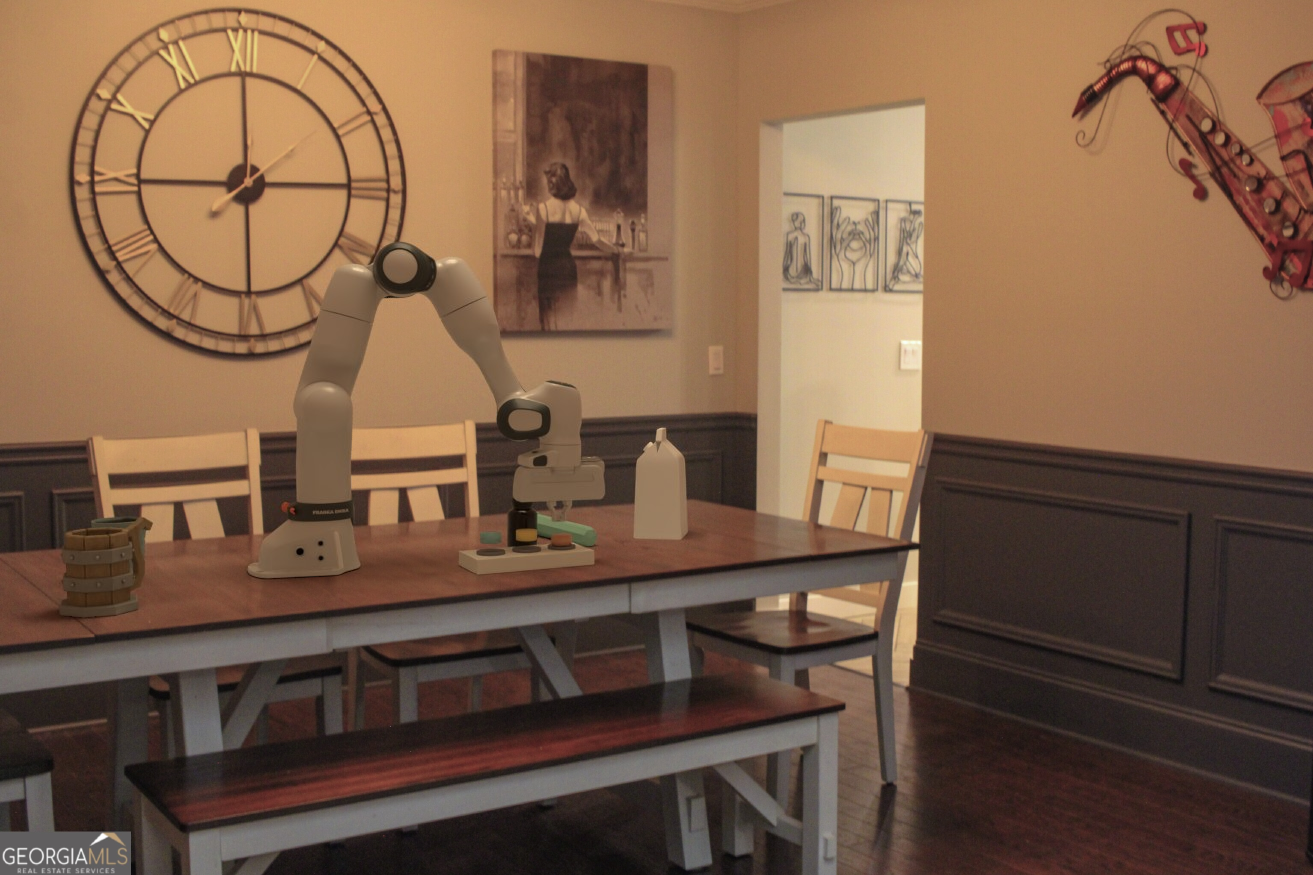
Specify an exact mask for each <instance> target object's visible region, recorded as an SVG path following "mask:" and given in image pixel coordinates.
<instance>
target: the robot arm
mask: <svg viewBox="0 0 1313 875" xmlns="http://www.w3.org/2000/svg"><path fill="white" fill-rule="evenodd" d="M416 294H418V295H423V296H424V297H426V298H427V299H428V300H429V301H430V303H431V304H432V305H433V307H434V309H435V311H436V313H437V315H438V317H439V319H440V322H441V323H442V325H443V327H444V329H445V330H446V333H447V334H448V335H449V336H450V338H451V339H452V341H453V342H454V344H456V346H457V347H458V348H459V349H461V350H462V351H463V352H464V353H465V354H466V355H468V356H469V358H471V359H472V360H473V362H474V363H475V364H476V365H477V367H478V368H479V370H480V372H481V374H482V375H483V377H484V380H485V381H486V383H487V386H488V387H489V390H490V391H491V393H492V395H493V397H494V400H495V404H496V419H495V421H496V425H497V429H498V431H500V433H501V434H502V435H503V437H505V438H507V439H508V440H510V441H514V442H524V441H528V440H532V439H539V448H536V449H533V450H531V451H528V452H525V453H524V452H523V453H521V454H519V455H518V456H517V464H518V465H520V466H518V467H517V468H516V469H515V472H514V476H513V484H512V497H514V498H515V500H517V501H519V502H533V503H534V502H537V503H539V502H546V507H547V508H548V511H549V512H550V514H551V515H550V517H551V520H552V522H564V521H568V513H569V512H570V510H571V508H572V506H573V501H583V500H584V501H585V500H586V501H588V500H592V501H593V500H602V499H603V498H604V496H605V495H606V484H605V478H604V477H605V476H604V473H605V462H604V460H603V459H602V458H600V457H599V456H582V441H581V436H580V435H581V434H580V432H581V427H582V424H583V420H582V418H583V417H582V413H583V410H582V398H581V397H582V396H581V393H580V391H579V390H578V388H577V387H576V386H574V385H573V384H571V383H567V382H562V381H558V380H545V381H544V382H543V383H541V384H540V385H538V386H537V387H535V388H532V389H531V390H529V391H526V390H525V389H524V387H523V386H522V385H521V383H520V382H519V380H518V378H517V376H516V374H515V372H514V370H513V368H512V366H511V364H510V362H509V360H508V358H507V356H506V354H505V351H504V346H503V344H502V339H501V338H502V337H501V332H500V331H501V330H500V327H499V326H500V325H499V323H498V319H497V316H496V313H495V310H494V307H493V305H492V302H491V301H490V298H489V296H488V294H487V292H486V290H485V289H484V287H483V285H482V283H481V281H480V280H479V278H478V276H476V274H475V272H474V271H473V270H472V268H471V267H470V266H469V264H468V263H467V262H466V261H465V260H464V259H463V258H461V257H459V256H445V257H442V258H440V259H437V260H435V259H434V258H433V257H432V256H430V255H429V254H427V253H426V252H425V251H423V250H421V249H420V248H419V247H418V246H416V245H414V244H411V243H410V242H409V243H408V242H405V241H395V242H394V241H393V242H390V243H389V244H386V245H384V246H383V247H382V248H381V249H380V250H379V251H378V252H377V254H376V256H375V258H374V261H373V262H372V263H370V264H368V265H363V264H358V263H347V264H342V265H340V266H338V267H337V268H336V270H334V273H333V275H332V277H331V278H330V280H329V283H328V285H327V288H326V290H325V293H324V296H323V298H322V301H321V304H320V308H319V309H320V310H319V311H318V316H317V320H316V323H315V327H314V331H313V333H312V339H311V342H310V344H309V349H308V352H307V354H306V357H305V362H304V364H303V368H302V371H301V375H300V378H299V381H298V383H297V388H296V391H295V394H294V397H293V398H294V399H293V403H292V407H293V413H294V416H295V418H296V449H295V450H296V451H295V452H296V455H295V456H296V458H295V480H296V483H295V486H296V500H295V501H293V502H292V503H290V502H287V501H285V502H283V503H282V504H281V507H280V509H281V510H282V512H284V513H286V519H287V520H285V522H282V524H281V525H279V526H278V527H277V528H276V529H275V530H273V531H272V532H270V534H268V535H267V536H266V537H264V539H263V540H262V542H261V545H260V546H259V548H260V549H259V552H258V562H252V563H250V564H249V565H248V566H247V573H248V574H249V575H251V576H253V577H256V578H261V579H274V578H276V579H277V578H278V579H279V578H280V579H282V578H295V577H296V578H298V577H319V576H321V577H323V576H337V575H341V574H343V573H346V572H349V571H354V570H356V569H359V568H360V567H361V565H362V564H361V563H360V559H359V556H358V551H357V547H356V541H355V536H354V534H355V533H354V525H355V504H354V499H352V451H353V450H352V448H353V446H352V445H353V421H354V420H353V418H354V417H353V414H354V412H353V411H354V407H353V402H352V399H351V397H352V394H353V390H354V388H355V385H356V381H357V379H358V375H359V373H360V370H361V367H362V365H363V362H364V359H365V355H366V352H367V347H368V345H369V341H370V337H371V332H372V329H373V324H374V322H375V318H376V314H377V310H378V307H379V305H380V304H381V302H382V300H383V299H406V298H410V297H412V296H413V297H414V295H415V296H416ZM558 501H559V502H561V501H562V505H563V508H561V512H557V510H556V508H555V507H556V506H557V502H558Z"/></svg>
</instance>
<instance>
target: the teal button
mask: <svg viewBox="0 0 1313 875" xmlns="http://www.w3.org/2000/svg"><path fill="white" fill-rule="evenodd" d="M479 543H480V544H483V545H496V544H501V543H502V531H497V530H496V531H495V530H489V531H486V530H485V531H481V532H480V533H479Z"/></svg>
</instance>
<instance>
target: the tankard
mask: <svg viewBox="0 0 1313 875" xmlns="http://www.w3.org/2000/svg"><path fill="white" fill-rule="evenodd" d="M138 517H139V518H138V519H137V520H136V521H135V522H134V523H133V524H131V525H130V526H128V527H127V528H126V529H125V528H112V527H110V528H108V527H106V528H92V527H89V528H81V529H75V530H69V531H66V532H65V535H64V545H63V546H62V548H61V552H60V554H59V555H60V557H61V559H62V560H61V562H62V564H65V572H64V573H63V576H62V579H61V581H60V582H61V584H62V589H63V590H62V591H63V592H66V598H64V599H61V600H60V601H59V602H60V603H59V615H60V616H61V617H62V616H63V617H69V616H72V617H71V618H78V617H82V618H81V619H86V618H85V617H91V618H96V617H95V616H104V617H116V616H120V615H123V614H126V613H131V612H134V611H138V609H139V597H138V595H137V594H134V593H133V594H132V593H131V592H132V591H134V590H136V589H139V588H140V587H141V586H142V583H143V579H144V577H145V575H146V561H145V558H144V557H143V554H142V551H141V548H140V540H139V532H140V531H141V530H142V529H144V530H146V531H151V530H152V528H153V524H154V522H153V521H151V520H150V519H148V518H146V517H144V516H138ZM130 559H131V560H132V563H133V569H132V568H129V560H130ZM119 614H120V615H119Z"/></svg>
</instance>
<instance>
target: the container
mask: <svg viewBox="0 0 1313 875" xmlns="http://www.w3.org/2000/svg"><path fill="white" fill-rule="evenodd" d="M536 512H537V536H540V537H544V538H548V539H551V535H552V534H558V533H566V534H571V535H572V542H573V543H575V544H578V545H581V546H583V547H586V548H589V547H593V546H594V545H595V544H596V542H598V533H597V531H596V530H595V529H594V528H593V527H592V526H589V525H585V524H581V523H576V522H572V521H569V520H567V521H564V522H552V520H551V516H548V515H545V514H542V513H541V512H540V511H536Z"/></svg>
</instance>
